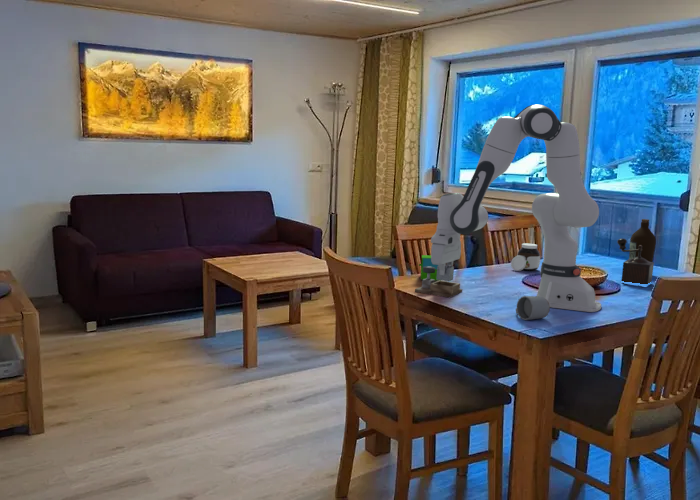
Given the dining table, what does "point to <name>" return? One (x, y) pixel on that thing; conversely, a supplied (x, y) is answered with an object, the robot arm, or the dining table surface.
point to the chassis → (439, 288)
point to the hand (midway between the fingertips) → (445, 273)
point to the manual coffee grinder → (636, 266)
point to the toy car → (425, 263)
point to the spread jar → (526, 258)
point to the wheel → (428, 271)
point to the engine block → (448, 275)
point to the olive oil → (643, 242)
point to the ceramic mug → (532, 307)
